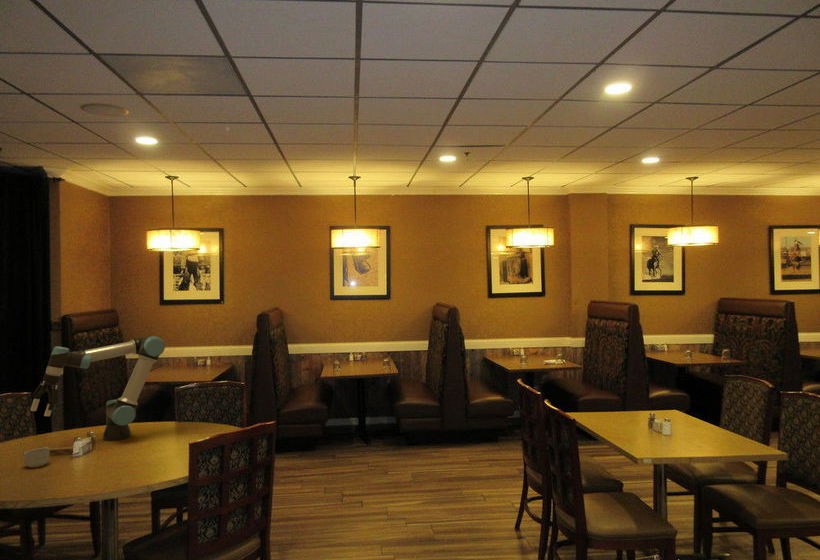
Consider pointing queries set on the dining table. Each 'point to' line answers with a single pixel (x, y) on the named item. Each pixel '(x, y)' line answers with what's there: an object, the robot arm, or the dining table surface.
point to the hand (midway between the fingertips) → (39, 413)
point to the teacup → (36, 457)
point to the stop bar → (61, 451)
